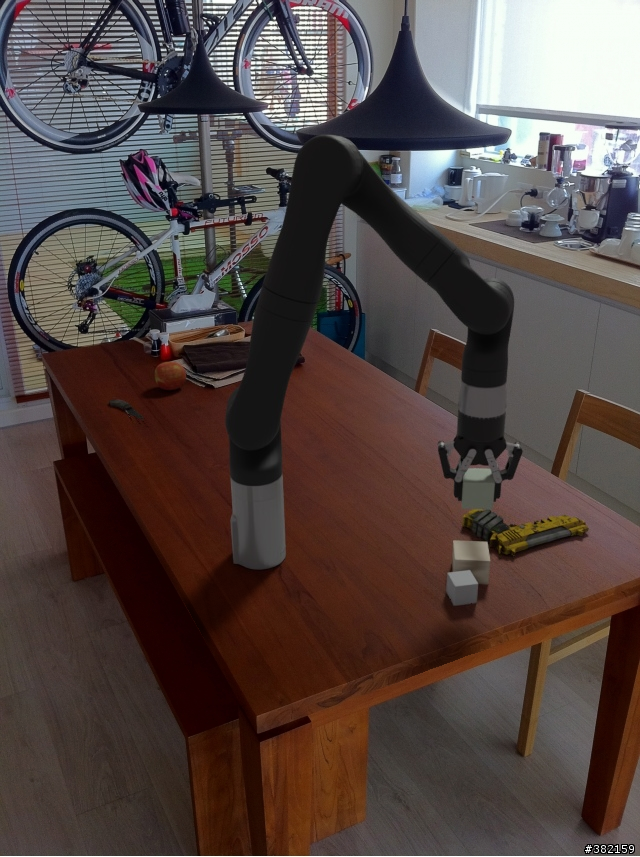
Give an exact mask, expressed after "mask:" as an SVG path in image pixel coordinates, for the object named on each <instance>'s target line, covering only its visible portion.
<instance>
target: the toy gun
mask: <svg viewBox="0 0 640 857" xmlns="http://www.w3.org/2000/svg"><path fill="white" fill-rule="evenodd" d="M461 523H462V527H467V528H468V529H470V530H471V533H472V534H474V535H476V537H478V538H480V539H483V540H485V542H489V544H488V548H496V549H497V551H498V554H500V555H501V552H502V554H505V555H511V556H513V557H514V556H515V555H516V553H517V552H521V551H524V550H527V549H528V548H532V547H535V546H538V545H542V544H544V543H549V542H552V541H555V540H559V539H562V538H565V537H566V538H567V537H572V536H576V535H577V536H580V537H583V535H584V533H587V532H589V527H588V526H587V524H586V522H585V520H583V519H580V518H578V517H575V516H573V517H571V516H568V515H567V514H562V515H558V516H555V515H552V516H548V517H547V519H546V518H542V519H540V520H538V519H537V520H534V522H531V521H528V522H526V523H522V524H520V525H519V524H514V523H510V524H509V525H508V524H506V523H505V522H504V518H503V517H502V516H500V515H498V513H497V512H495V511H492V510H488V509H470V510H469V511H468V512H467V513H465V514H464V515H463V517H462V522H461Z"/></svg>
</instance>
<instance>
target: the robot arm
mask: <svg viewBox="0 0 640 857" xmlns="http://www.w3.org/2000/svg"><path fill="white" fill-rule="evenodd" d="M291 175H292V176H291V179H290V180H291V181H290V187H289V192H288V197H287V203H286V208H285V213H284V217H283V221H282V225H281V229H280V232H279V235H278V237H277V240H276V243H275V245H274V248H273V252H272V254H271V258H270V261H269V263H268V266H267V271H266V274H265V276H264V279H263V282H262V286H261V288H260V292H259V295H258V296H259V297H258V299H257V303H256V307H255V312H254V316H253V321H252V326H251V332H250V341H249V348H248V356H247V361H246V366H245V370H244V372H243V376H242V378H241V380H240V384H239V386H237V387H236V388H234V390H233V391H232V392H231V394H230V396H229V397H228V400H227V403H226V409H225V417H224V423H225V424H224V425H225V430H226V433H227V434H228V444H229V448H228V450H229V451H228V452H229V455H228V456H229V457H228V459H229V462H228V465H229V476H230V488H231V489H230V491H231V503H232V506H231V507H232V514H231V517H230V521H229V522H230V530H231V532H230V533H231V546H232V547H231V548H232V560H233V565H234V564H235V565H240V566H242V567H245V568H247V569H251V570H258V571H259V570H267V569H272V568H274V567H276V566H278V565H281V563H282V562H283V561H284V559H286V556H287V554H286V548H287V547H286V544H287V543H286V528H285V526H286V525H285V502H284V501H285V500H284V479H283V474H284V473H283V444H282V443H283V442H282V420H281V419H282V413H283V407H284V404H285V399H286V393H287V390H288V387H289V382H290V380H291V376H292V373H293V371H294V368H295V366H296V364H297V362H298V359H299V357H300V354H301V352H302V349H303V347H304V344H305V341H306V340H307V336H308V333H309V330H310V328H311V325H312V323H313V320H314V317H315V314H316V311H317V308H318V304H319V301H320V298H321V295H322V291H323V285H324V277H325V268H326V255H327V254H326V253H327V245H328V242H329V237H330V234H331V231H332V227H333V225H334V223H335V220H336V218H337V214H338V212H339V209H340V207H341V205H342V206H344V207H345V208H347V209H349V210H350V211H352V212H353V213H355V214H356V215H357V216H358V217H360V218H361V219H362V220H363V221H364V222H366V223H367V224H368V225H369V227H371V228H372V229H373V230H374V231H375V232H376V234H378V236H379V237H380V238H381V239H382V240H383V241H384V243H385V244H386V245H387V246H388V248H389V249H390V250H391V252H393V254H394V255H395V256H396V257H397V258H398V259H399V260H400V261H401V262H402V263H403V264H404V265H405V266H406V267H407V268H408V269H409V270H411V272H413V273H414V274H415V276H417V277H418V278H420V279H421V281H423V282H424V283H425V284H426V285H427V286H428V287H430V288H431V289H433V291H435V292H436V294H438V296H439V297H440V299H441V300H442V301H443V302H444V304H445V305H446V306H447V307H448V309H449V310H450V311H451V313H453V314H454V316H455V317H456V318H457V319H458V320H459V321H460V322H461V323H462V324H463V325H464V326H466V328H467V336H466V337H467V338H466V343H465V346H464V349H463V351H462V359H461V376H460V385H459V389H458V390H459V391H458V402H457V405H458V406H457V424H456V425H457V426H456V435H455V437H454V439H453V440H452V441H443V440H439V441H437V452H438V456H439V461H440V464H441V465H440V466H441V470H442V473H443V477H444V479H447V480H448V479H451V480H452V481H453V496H454V498H455V499H457V501H458V502H461V501H462V489H463V480H462V479H463V477H464V475H465V473H466V472H467V470H468V468H470V466H478V465H480V466H485V467H486V466H487V467H489V469H491V472H492V475H493V477H494V482H495V487H494V501H493V503H495V502H497V499H498V500H499V499H500V498H501V493H502V492H501V491H502V483H503V482H504V481H506V480H507V481H508V480H509V481H512V480H513V479H514V477H515V474H516V471H517V468H518V466H519V463H520V461H521V457H522V455H523V453H524V450H523V447H522V445H521V442H519V441H515V442H513V443H512V442H509V441H506V438H505V431H506V430H505V428H506V417H507V416H506V415H507V407H508V387H507V386H508V385H507V379H508V370H509V369H508V367H509V342H510V338H511V333H512V332H511V331H512V326H513V317H514V311H515V310H514V309H515V297H514V293H513V290H512V288H511V287H510V285H508V284H507V282H505V281H504V280H502V279H500V278H496V277H488V278H485V279H483V278H482V277H481V275H480V274H479V273H477V271H476V270H474V269H473V267H472V266H471V263H470V259H469V258H468V256H467V255H466V253H465V252H464V251H463V250H462V249H460V248H459V247H458V246H457V245H456V244H455V243H454V242H453V241H452V240H450V239H449V238H448V237H447V236H446V235H445V234H444V233H443V232H441V231H440V230H439V229H438V228H436V227H435V226H434V225H433V224H432V223H430V222H429V221H428V220H427V219H426V218H424V217H423V216H422V215H421V214H420V213H418V212H417V211H416V210H415V209H414V208H413V207H412V206H410V205H409V204H408V203H407V202H406V201H405V200H404V199H402V198H401V196H399V195H398V194H397V193H396V192H395V191H394V190H393V189H392V188H391V187H390V186H389V184H387V183H386V182H385V181H384V179H383V178H382V177H381V176H380V175H379V174H378V173H377V171H376V170H375V169H374V167H373V166H372V165H371V164H370V162H369V161H368V159H366V157H365V156H364V155H363V154H362V153H361V151H360V150H359V148H358V147H357V146H356V145H355V144H354V143H353V142H352V141H351V140H350V139H349V138H346V137H343V136H341V135H336V134H320V135H319V134H318V135H316V136H314V137H312V138H310V139H309V140H307V141H306V142H305V143H303V145H302V146H301V147H300V149H299V151H298V152H297V155H296V158H295V160H294V164H293V169H292V174H291ZM453 449H454V450H455V451H456V453H457V454H458V455H459V457H458V461H457V465H456V466H455V468H453V467H451V466H450V465H451V464H450V460H449V457H450V455H452V451H453ZM505 450H506V453H507V455H508V458H507V461H506V464H505V467H504V469H500V467H499V464H498V462H497V459H498V458H499V457H500V456H501V455H502V454H503V453H504V451H505Z"/></svg>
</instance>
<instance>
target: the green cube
mask: <svg viewBox="0 0 640 857" xmlns="http://www.w3.org/2000/svg"><path fill="white" fill-rule="evenodd" d="M462 480H463V489H462V501H460V502H461V503H460V504H461V508H462V509H463V510H473V509H483V510H486V509H488V510H491V511H493V509H494V502H493V501H494V487H495V482H494V477H493V475H492V472H491V469H490V468H481V467H480V468H478V467H477V468H473V467H472V468H471V467H469V468H468V470H467V472H466V473H465V475H464V477H463V479H462Z"/></svg>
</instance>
